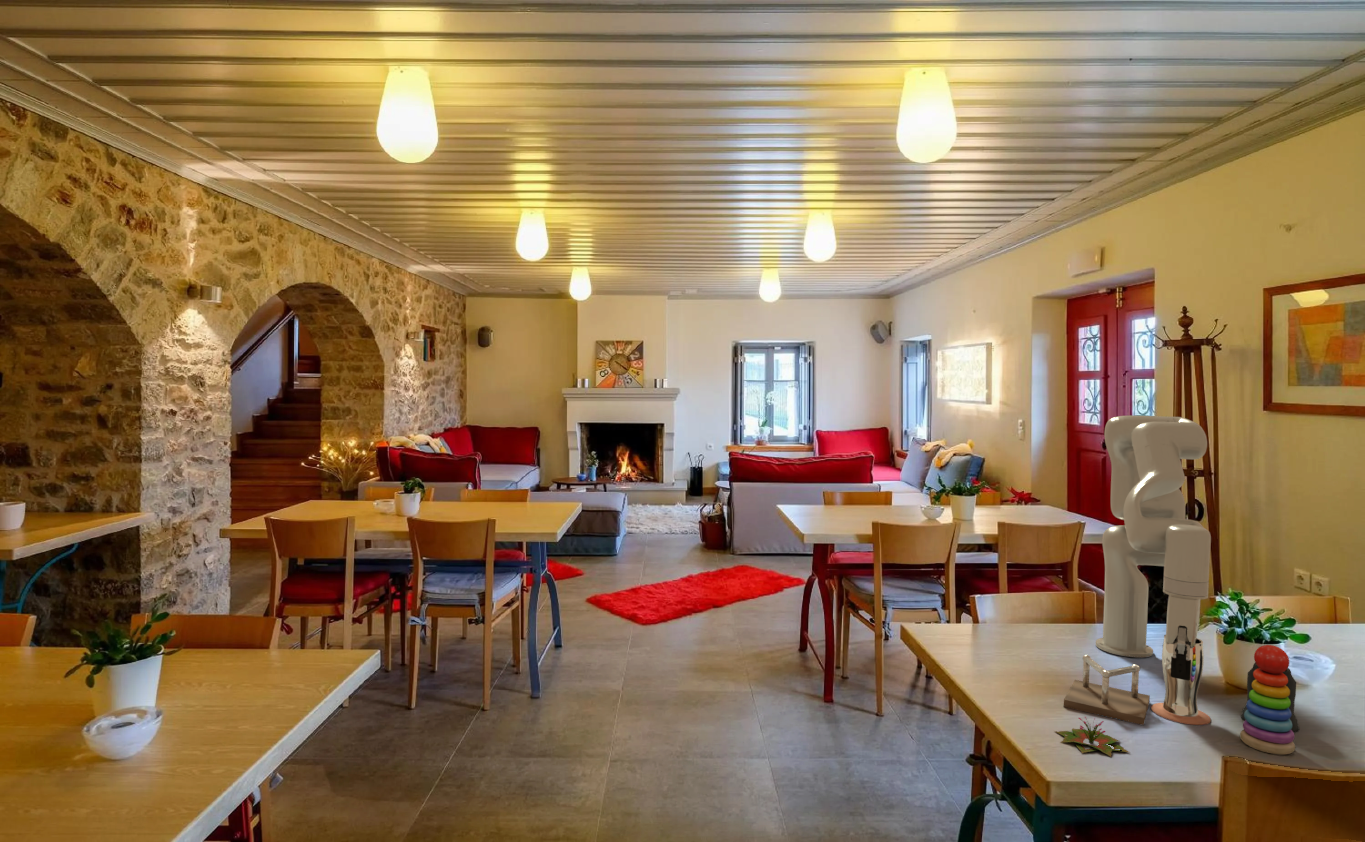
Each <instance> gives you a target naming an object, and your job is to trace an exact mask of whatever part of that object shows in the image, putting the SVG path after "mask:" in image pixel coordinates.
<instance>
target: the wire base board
mask: <svg viewBox="0 0 1365 842" xmlns="http://www.w3.org/2000/svg"><path fill="white" fill-rule="evenodd" d="M1150 699H1151V698H1150V695H1149V694H1144V693H1139V692H1138V698H1133V697H1131V691H1130V690H1125V689H1120V688H1116V687H1111V686H1109V697H1108V705H1104V704H1102V703H1101V701H1102V684H1098V683H1092V682H1089V687H1088V688H1086V687H1083V680H1080V679H1079V680H1078V679H1074V681H1073V682H1072V684H1071V686H1070V688H1069V689H1068V692H1067V693H1066V695H1065V697H1064V699H1063V707H1064V708H1067V709H1072V710H1076V711H1080V712H1084V713H1088V714H1093V713H1094V714H1093V715H1097V714H1099V715H1098V716H1101V715H1103V716H1102V717H1105V716H1107V717H1106V718H1110V717H1112V718H1111V719H1114V718H1117V719H1116V720H1118V719H1120V720H1119V721H1123V720H1124V722H1128V723H1131V724H1135V725H1141V726H1145V722H1146V718H1147V714H1148V710H1149V706H1150Z"/></svg>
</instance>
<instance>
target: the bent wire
mask: <svg viewBox="0 0 1365 842" xmlns="http://www.w3.org/2000/svg"><path fill="white" fill-rule="evenodd" d="M1082 661H1083V662H1082V663H1083V665H1082V667H1083V668H1082V681H1083V687H1086V688H1088V687H1089V683H1090V668H1093V669H1094V670H1095V671H1096V672H1097V673H1099V674H1100V675H1101V676H1102V678H1101V679H1102V680H1101V685H1102V701H1101V703H1102V704H1104V705H1108V697H1109V687H1110V678H1111V677H1116V676H1120V675H1121V676H1122V675H1126V674H1131V687H1130V688H1131V697H1133V698H1138V693H1139V682H1140V681H1139V678H1140V671H1141V667H1140V666H1139V665H1138V664H1132V665H1130V666H1125V667H1123V666H1122V667H1120V668H1118V667H1117V668H1114V669H1109V670H1106V669H1105V668H1104V667H1103V666H1101V665H1100V664H1098V662H1096V661H1095V660H1094V659H1092V658H1091V656H1090V655H1089V654H1084V655H1083V656H1082Z"/></svg>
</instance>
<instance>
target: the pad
mask: <svg viewBox="0 0 1365 842" xmlns="http://www.w3.org/2000/svg"><path fill="white" fill-rule="evenodd" d="M1163 703H1164V702H1157V703H1153V704H1151V706H1150V710H1151V712H1153V713H1154V714H1155V715H1157V716H1159V717H1160V718H1164V719H1165V720H1168V721H1172V722H1174V723H1175V722H1176V723H1180V724H1185V725H1193V726H1204V725H1208V724H1210V723H1211V717H1210V716H1209V715H1208V714H1207V713H1205V712H1204V711H1202V710H1200V709H1198V713H1199V716H1198V717H1197V718H1194V719H1188V718H1181V717H1177V716H1173V715H1171V714H1168V713H1166V712H1165V711H1164V710H1163Z"/></svg>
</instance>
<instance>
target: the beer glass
mask: <svg viewBox="0 0 1365 842" xmlns="http://www.w3.org/2000/svg"><path fill="white" fill-rule="evenodd" d="M1163 638H1164V639H1163V643H1162V644H1163V645H1162V650H1161V651H1162V652H1161V666H1162V674H1163V680H1164V686H1165V688H1164V689H1165V692H1164V693H1165V695H1164V699H1163V702H1162V703H1163V710H1164V711H1165V712H1166V713H1168V714H1171V715H1173V716H1177V717H1181V718H1188V719H1194V718H1197V717H1198V716H1199V713H1198V710H1199V708H1198V694H1199V688H1200V685H1201V681H1202V677H1203V673H1204V663H1205V662H1204V660H1205V659H1204V658H1205V655H1204V641H1203V640H1202V639H1200V638H1198V637H1196V642H1195V646H1194V648H1190V660H1191V672H1190V680H1183V679H1178V678H1173V677H1171V657H1173V646H1174V645H1173V643H1174V642H1173V643H1172V644H1171V643H1169V645H1168V644H1167V643H1166V642H1165V641H1166V634H1164V635H1163ZM1176 642H1177V639H1176ZM1185 644H1188V643H1185ZM1186 650H1187V649H1186ZM1186 655H1187V654H1186Z"/></svg>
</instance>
